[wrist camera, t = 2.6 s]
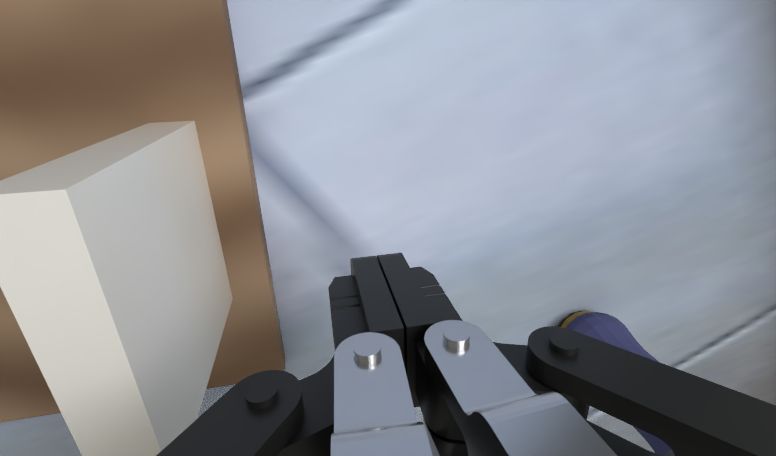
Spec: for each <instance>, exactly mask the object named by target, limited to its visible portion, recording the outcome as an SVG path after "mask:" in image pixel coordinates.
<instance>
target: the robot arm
mask: <svg viewBox="0 0 776 456" xmlns="http://www.w3.org/2000/svg"><path fill="white" fill-rule="evenodd" d="M329 297H330V308H331V318H332V328H333V337H334V345H335V354H334V356H333V358H332V359H331V361H330V362H329V363H328V364H327V365H326V366H325V367H324V368H323V369H322V370H320V371H319V372H317V373H315V374H313V375H311V376H309V377H307V378H304V379H302V380H299V381H298V379H297V378H296V377H295V376H294V375H292V374H290V373H288V372H285V371H281V370H267V371H262V372H258V373H255V374H252V375H250V376H248V377H246V378H244V379H243V380H241V381H240V382H238V383H237V384H236V385H235V386H234V387H232V388H231V389H230V390H229V391H228V392H227V393H226V394H225V395H223V396H222V397H221V398H220V399H219V400H218V401H217V402H216V403H214V404H213V405H212V406H211V407H210V408H209V409H208V410H207V411H206V412H204V413H203V414H202V415H201V416H200V417H199V418H198V419H197V420H195V421H194V422H193V423H192V424H191V425H190V426H189V427H188V428H186V429H185V430H184V431H183V432H182V433H181V434H180V435H179V436H178V437H176V438H175V439H174V440H173V441H172V442H171V443H170V444H169V445H167V446H166V447H165V448H164V449H163V450H162V451H161V452H160V453H158V454H157V455H156V456H776V406H775V405H772V404H770V403H767V402H764V401H762V400H759V399H756V398H754V397H751V396H748V395H746V394H743V393H740V392H738V391H735V390H732V389H729V388H727V387H724V386H721V385H719V384H716V383H713V382H711V381H708V380H705V379H703V378H700V377H697V376H694V375H692V374H689V373H686V372H684V371H681V370H678V369H676V368H673V367H670V366H668V365H665V364H662V363H659V362H657V361H654V360H651V359H649V358H646V357H643V356H641V355H638V354H635V353H633V352H630V351H627V350H624V349H622V348H619V347H616V346H614V345H611V344H608V343H606V342H603V341H600V340H598V339H595V338H592V337H590V336H587V335H584V334H581V333H579V332H576V331H573V330H570V329H567V328H562V327H543V328H539V329H536V330H535V331H533V332H532V333H531V334H530V336H529V339H528V346H527V345H513V344H501V343H495V342H492V341H491V340H490V338H489V337H488V336H487V335H486V334H485V332H484V331H483V330H482V329H480V328H479V327H477V326H475V325H473V324H471V323H468V322H465V321H462V319H461V318H460V316H459V315H458V313H457V311H456V310H455V308H454V307H453V305H452V304H451V302H450V300H449V299H448V297H447V296H446V295H445V293H444V291H443V289H442V288H441V286H439V283H438V281H437V280H436V278H435V277H434V275H433V274H432V273H430V272H428V271H427V270H425V269H424V268H422V267H415V268H410V267H409V265H408V264H407V262H406V260H405V258H404V256H403V254H402V253H395V254H386V255H377V257H376V256H369V257H361V258H352V259H351V275H350V276H342V277H335V278H334V280H333V281H332V283H331V284H330V286H329ZM419 406H420V408H421V411H422V414H423V422H417V418H416V414H415V410H414V407H419ZM589 406H592V407H594V408H596V409H598V410H600V411H603V412H605V413H607V414H609V415H611V416H613V417H615V418H617V419H620V420H622V421H624V422H626V423H628V424H630V425H632V426H634V427H637V428H639V429H641V430H643V431H645V432H647V433H649V434H651V435H654V436H656V437H657V438H659V439H661V440H662V441H664V442H665V443H666V444H667V445H668V446H669V447H670V448H671V450H670V451H669V452H667V453H663V454H658V453H653V452H650V451H648V450H646V449H644V448H642V447H640V446H638V445H636V444H634V443H632V442H629V441H627V440H625V439H623V438H621V437H619V436H617V435H615V434H613V433H611V432H609V431H607V430H605V429H603V428H601V427H599V426H597V425H595V424H593V423H591V422H589V421H587V420H586V419H587V415H588V410H589Z"/></svg>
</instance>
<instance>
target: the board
mask: <svg viewBox="0 0 776 456" xmlns="http://www.w3.org/2000/svg"><path fill="white" fill-rule="evenodd" d="M177 121H195V125H196V130H197V135H198V139H199V144H200V149H201V153H202V158H203V163H204V167H205V172H206V177H207V181H208V186H209V191H210V195H211V200H212V205H213V209H214V214H215V219H216V223H217V228H218V233H219V237H220V242H221V247H222V251H223V256H224V261H225V265H226V270H227V275H228V279H229V284H230V289H231V293H232V298H233V299H232V303H231V306H230V309H229V313H228V316H227V320H226V323H225V326H224V330H223V333H222V337H221V340H220V344H219V347H218V350H217V354H216V357H215V361H214V364H213V367H212V371H211V374H210V378H209V381H208V384H207V388H206V389H208V388H214V387H220V386H226V385H233V384H237V383H238V382H240V381H241V380H243V379H244V378H246V377H248V376H250V375H252V374H255V373H258V372H262V371H267V370H281V371H285V355H284V349H283V343H282V337H281V331H280V325H279V319H278V312H277V306H276V300H275V294H274V288H273V282H272V276H271V270H270V264H269V257H268V251H267V245H266V239H265V233H264V227H263V221H262V215H261V209H260V202H259V196H258V190H257V184H256V178H255V172H254V166H253V160H252V153H251V147H250V141H249V135H248V129H247V123H246V117H245V111H244V105H243V98H242V92H241V86H240V80H239V74H238V68H237V62H236V56H235V49H234V43H233V37H232V31H231V25H230V19H229V13H228V7H227V1H226V0H0V181H1V180H3V179H6V178H9V177H11V176H14V175H16V174H19V173H21V172H24V171H27V170H29V169H32V168H34V167H37V166H39V165H42V164H45V163H47V162H50V161H52V160H55V159H57V158H60V157H63V156H65V155H68V154H70V153H73V152H75V151H78V150H81V149H83V148H86V147H88V146H91V145H93V144H96V143H99V142H101V141H104V140H106V139H109V138H111V137H114V136H117V135H119V134H122V133H124V132H127V131H129V130H132V129H135V128H137V127H140V126H142V125H145V124H147V123H157V122H177ZM55 413H61V411H60V409H59V407H58V405H57V403H56V401H55V399H54V397H53V395H52V393H51V391H50V389H49V387H48V385H47V383H46V380H45V378H44V376H43V374H42V372H41V370H40V368H39V366H38V364H37V362H36V360H35V358H34V356H33V354H32V351H31V349H30V347H29V345H28V343H27V341H26V339H25V337H24V335H23V333H22V331H21V329H20V327H19V325H18V322H17V320H16V318H15V316H14V314H13V312H12V310H11V308H10V306H9V304H8V302H7V300H6V298H5V296H4V293H3V291H2V289H1V287H0V422H6V421H12V420H18V419H24V418H30V417H36V416H43V415H49V414H55Z"/></svg>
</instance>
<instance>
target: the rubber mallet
mask: <svg viewBox="0 0 776 456" xmlns="http://www.w3.org/2000/svg"><path fill="white" fill-rule="evenodd" d="M561 327H562V328H567V329H570V330H573V331H576V332H579V333H581V334H584V335H587V336H590V337H592V338H595V339H598V340H600V341H603V342H606V343H608V344H611V345H614V346H616V347H619V348H622V349H624V350H627V351H630V352H633V353H635V354H638V355H641V356H643V357H646V358H649V359H651V360H654V361H657V360H656V359H655V358H654V357H652V356H651V355H650V354H649V353H648V352H647V351H645V350H644V349H643V348H642V346H641V345H640V344H639V343H638V342H637V341H636V340H635V338H634V337H633V336H632V334H631V333H630V332H629V330H628V329H627V328H626V326H625V325H624V324H623V323H621V322H620V321H619V320H618V319H617V318H615V317H613V316H610V315H608V314H604V313H599V312H589V311H582V312H577V313H575V314H573V315H572V316H570V317H569V318H567V319H566V320H565V321H564V323H563V324H562V325H561ZM657 362H658V361H657ZM659 363H660V362H659ZM633 427H634V426H633ZM634 428H635V429H636V430H637V431H638V432H639V433H640V434H641V435H642V436H643V437H644V438H645V440H646V441H647V442H648V443H649V445H650V446H651V447H652V449H653V450H654V451H655V453H658V454H663V453H667V452H669V451H670V450H671V448H670V447H669V446H668V445H667V444H666V443H665V442H664V441H662V440H661V439H659V438H657V437H656V436H654V435H651V434H649V433H647V432H645V431H643V430H641V429H639V428H637V427H634Z"/></svg>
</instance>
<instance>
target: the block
mask: <svg viewBox="0 0 776 456" xmlns="http://www.w3.org/2000/svg"><path fill="white" fill-rule="evenodd" d="M0 287H1V289H2V291H3V293H4V296H5V298H6V300H7V302H8V304H9V306H10V308H11V310H12V312H13V314H14V316H15V318H16V320H17V322H18V325H19V327H20V329H21V331H22V333H23V335H24V337H25V339H26V341H27V343H28V345H29V347H30V349H31V351H32V354H33V356H34V358H35V360H36V362H37V364H38V366H39V368H40V370H41V372H42V374H43V376H44V378H45V380H46V383H47V385H48V387H49V389H50V391H51V393H52V395H53V397H54V399H55V401H56V403H57V405H58V407H59V409H60V411H61V414H62V416H63V418H64V420H65V422H66V424H67V426H68V428H69V430H70V432H71V434H72V436H73V438H74V440H75V443H76V445H77V447H78V449H79V451H80V453H81V455H82V456H156V455H157V454H158V453H160V452H161V451H162V450H163V449H164V448H165V447H166V446H167V445H169V444H170V443H171V442H172V441H173V440H174V439H175V438H176V437H178V436H179V435H180V434H181V433H182V432H183V431H184V430H185V429H186V428H188V427H189V426H190V425H191V424H192V423H193V422H194V421H195V420H197V419H198V415H199V412H200V408H201V405H202V402H203V398H204V395H205V391H206V388H207V384H208V381H209V378H210V374H211V371H212V367H213V364H214V361H215V357H216V354H217V350H218V347H219V344H220V340H221V337H222V333H223V330H224V326H225V323H226V320H227V316H228V313H229V309H230V306H231V303H232V299H233V298H232V293H231V289H230V284H229V279H228V275H227V270H226V265H225V261H224V256H223V251H222V247H221V242H220V237H219V233H218V228H217V223H216V219H215V214H214V209H213V205H212V200H211V195H210V191H209V186H208V181H207V177H206V172H205V167H204V163H203V158H202V153H201V149H200V144H199V139H198V135H197V130H196V125H195V121H177V122H157V123H147V124H145V125H142V126H140V127H137V128H135V129H132V130H129V131H127V132H124V133H122V134H119V135H117V136H114V137H111V138H109V139H106V140H104V141H101V142H99V143H96V144H93V145H91V146H88V147H86V148H83V149H81V150H78V151H75V152H73V153H70V154H68V155H65V156H63V157H60V158H57V159H55V160H52V161H50V162H47V163H45V164H42V165H39V166H37V167H34V168H32V169H29V170H27V171H24V172H21V173H19V174H16V175H14V176H11V177H9V178H6V179H3V180H1V181H0Z"/></svg>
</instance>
